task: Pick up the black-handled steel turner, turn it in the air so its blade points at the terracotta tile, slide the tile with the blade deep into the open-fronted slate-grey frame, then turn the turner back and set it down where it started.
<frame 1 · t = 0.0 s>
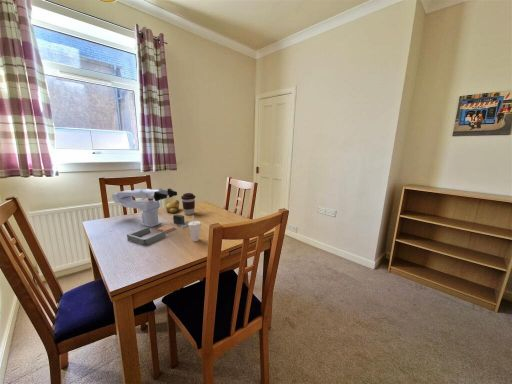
hand: (171, 194, 125), 22 cm above the table, tool horizontal, fingers open, 7 cm apart
frame: (147, 237, 118), on the table
tile: (166, 230, 129), on the table
turner: (179, 223, 140), on the table
bread roll: (172, 211, 165), on the table
coffee cup: (189, 213, 160), on the table
smoothie: (195, 240, 116), on the table
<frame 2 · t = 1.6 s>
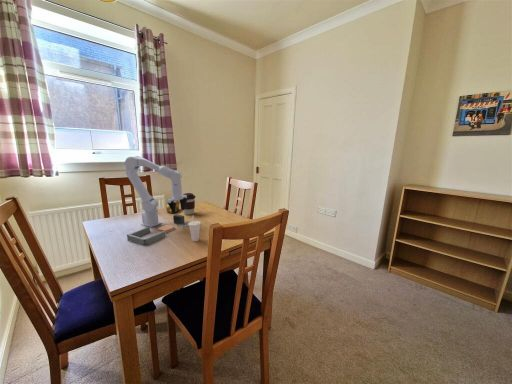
hand: (178, 211, 138), 8 cm above the table, tool pointing down, fingers open, 7 cm apart
nothing on the table moved.
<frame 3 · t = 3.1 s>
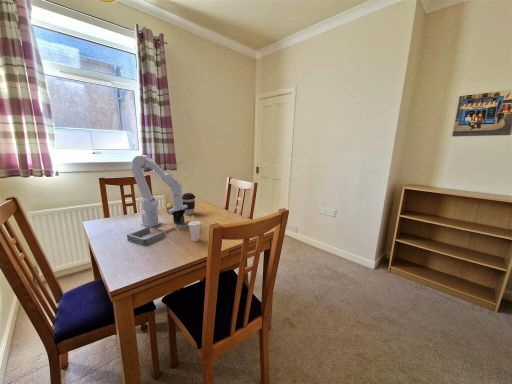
hand: (179, 221, 139), 2 cm above the table, tool pointing down, fingers closed on turner, 2 cm apart
turner: (179, 223, 140), on the table, touching gripper
everything else where it was.
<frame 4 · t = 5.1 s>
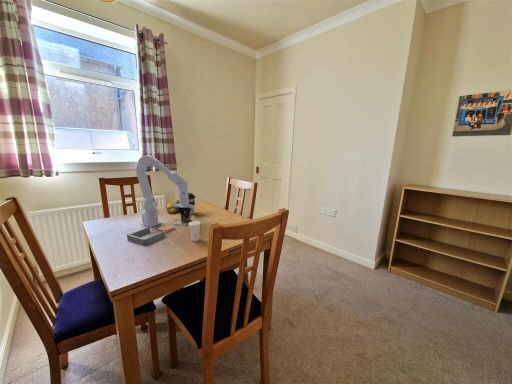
hand: (185, 218, 143), 2 cm above the table, tool pointing down, fingers closed on turner, 2 cm apart
turner: (185, 221, 144), on the table, touching gripper
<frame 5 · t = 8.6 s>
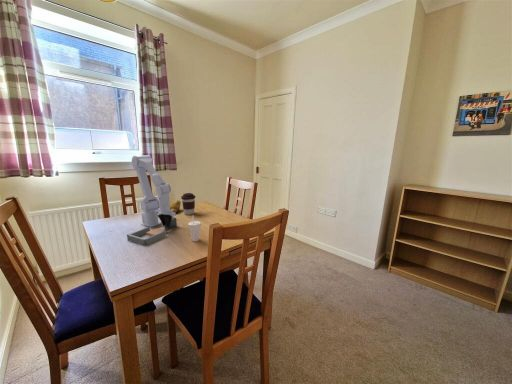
hand: (166, 225, 129), 2 cm above the table, tool pointing down, fingers closed on turner, 2 cm apart
tile: (156, 234, 123), on the table
turner: (171, 227, 133), on the table, touching gripper
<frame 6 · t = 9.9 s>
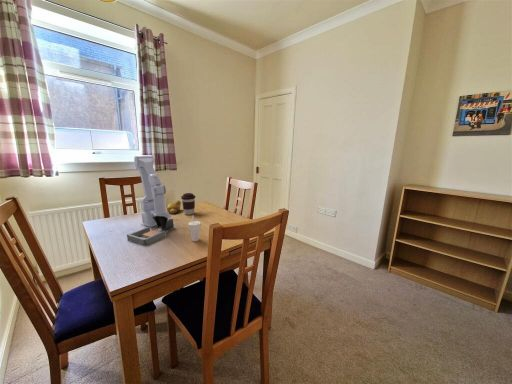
hand: (161, 227, 126), 2 cm above the table, tool pointing down, fingers closed on turner, 2 cm apart
tile: (152, 236, 121), on the table
turner: (167, 229, 130), on the table, touching gripper
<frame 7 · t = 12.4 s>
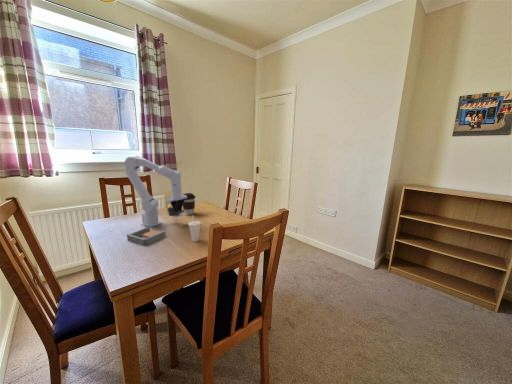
hand: (178, 211, 138), 8 cm above the table, tool pointing down, fingers closed on turner, 2 cm apart
turner: (174, 215, 140), point 5 cm above the table, tilted 8°, touching gripper
when the fingers open (3 cm above the table, at t = 13.8 s): turner stays where it is, on the table.
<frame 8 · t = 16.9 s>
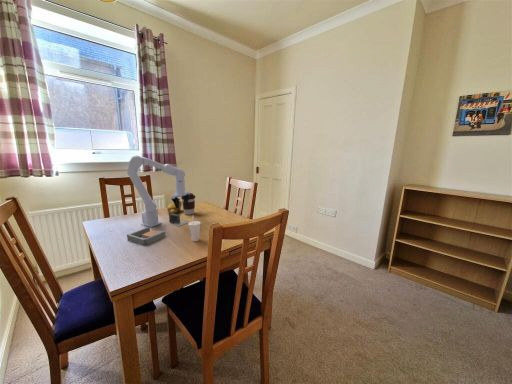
hand: (181, 206, 144), 9 cm above the table, tool pointing down, fingers open, 7 cm apart
turner: (174, 222, 141), on the table
at the end: tile inside the target area on the frame (4.0 cm from its centre), point -0.5 cm above the frame's base; the gripper is holding nothing; turner touching table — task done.
